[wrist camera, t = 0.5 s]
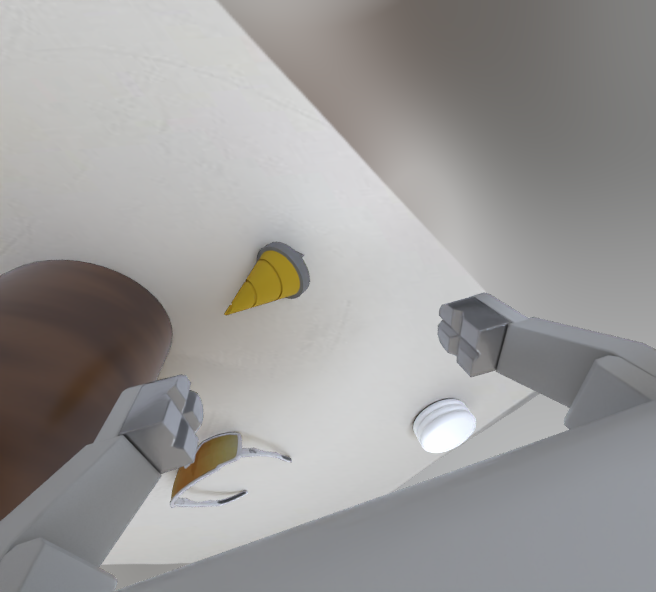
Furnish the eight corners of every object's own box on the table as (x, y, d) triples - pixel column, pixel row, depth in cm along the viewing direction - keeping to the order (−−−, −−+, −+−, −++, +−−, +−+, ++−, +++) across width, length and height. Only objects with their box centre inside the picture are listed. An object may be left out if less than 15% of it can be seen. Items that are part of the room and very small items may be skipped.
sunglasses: (225, 417, 34) (225, 457, 30) (298, 440, 44) (306, 472, 40) (152, 474, 36) (144, 518, 32) (237, 484, 46) (239, 519, 42)
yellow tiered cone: (308, 286, 28) (238, 348, 22) (275, 247, 28) (194, 299, 21) (337, 264, 24) (261, 332, 18) (299, 218, 24) (206, 272, 17)
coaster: (461, 388, 44) (476, 406, 41) (466, 419, 49) (479, 437, 46) (406, 414, 44) (417, 434, 41) (417, 442, 49) (428, 461, 46)
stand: (-64, 280, 20) (-1723, 968, 3) (128, 243, 22) (-304, 565, 5) (56, 398, 27) (-269, 803, 10) (194, 363, 29) (107, 660, 12)
